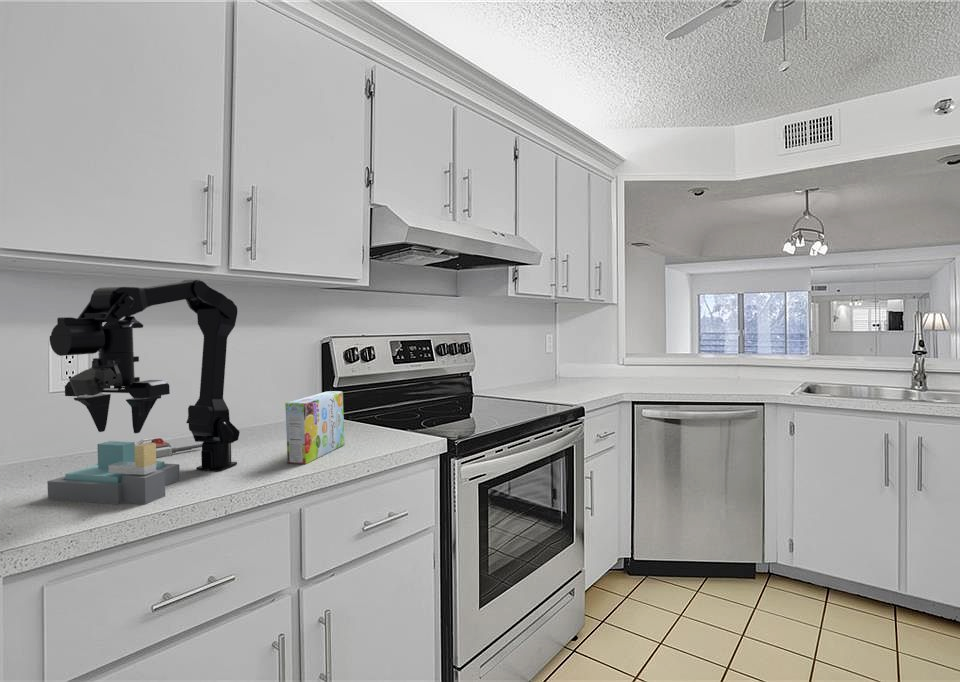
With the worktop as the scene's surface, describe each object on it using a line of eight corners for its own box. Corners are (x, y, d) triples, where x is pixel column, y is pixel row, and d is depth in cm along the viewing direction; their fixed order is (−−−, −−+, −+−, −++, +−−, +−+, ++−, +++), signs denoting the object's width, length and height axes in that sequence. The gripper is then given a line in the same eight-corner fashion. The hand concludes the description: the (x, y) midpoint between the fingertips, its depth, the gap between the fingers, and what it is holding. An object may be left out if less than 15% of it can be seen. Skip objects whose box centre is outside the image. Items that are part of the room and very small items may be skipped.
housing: (116, 476, 124) (116, 454, 124) (200, 481, 120) (199, 458, 120) (48, 499, 109) (47, 473, 108) (141, 505, 104) (140, 479, 104)
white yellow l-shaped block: (121, 468, 111) (120, 441, 111) (156, 470, 109) (155, 442, 109) (108, 472, 108) (107, 444, 108) (144, 475, 106) (143, 446, 106)
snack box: (326, 444, 156) (326, 390, 155) (345, 445, 155) (344, 391, 154) (285, 463, 135) (284, 401, 135) (306, 464, 134) (305, 402, 133)
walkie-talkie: (118, 465, 135) (204, 451, 150) (117, 447, 135) (204, 434, 149) (107, 460, 141) (191, 446, 156) (107, 442, 141) (190, 430, 155)
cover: (116, 470, 122) (115, 436, 122) (164, 473, 119) (163, 438, 119) (65, 486, 110) (64, 448, 110) (117, 489, 108) (116, 451, 107)
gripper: (35, 354, 102) (39, 439, 103) (124, 355, 98) (127, 443, 99) (89, 350, 113) (92, 427, 114) (170, 351, 109) (172, 430, 110)
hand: (119, 432), depth 109 cm, fingers open, 8 cm apart
